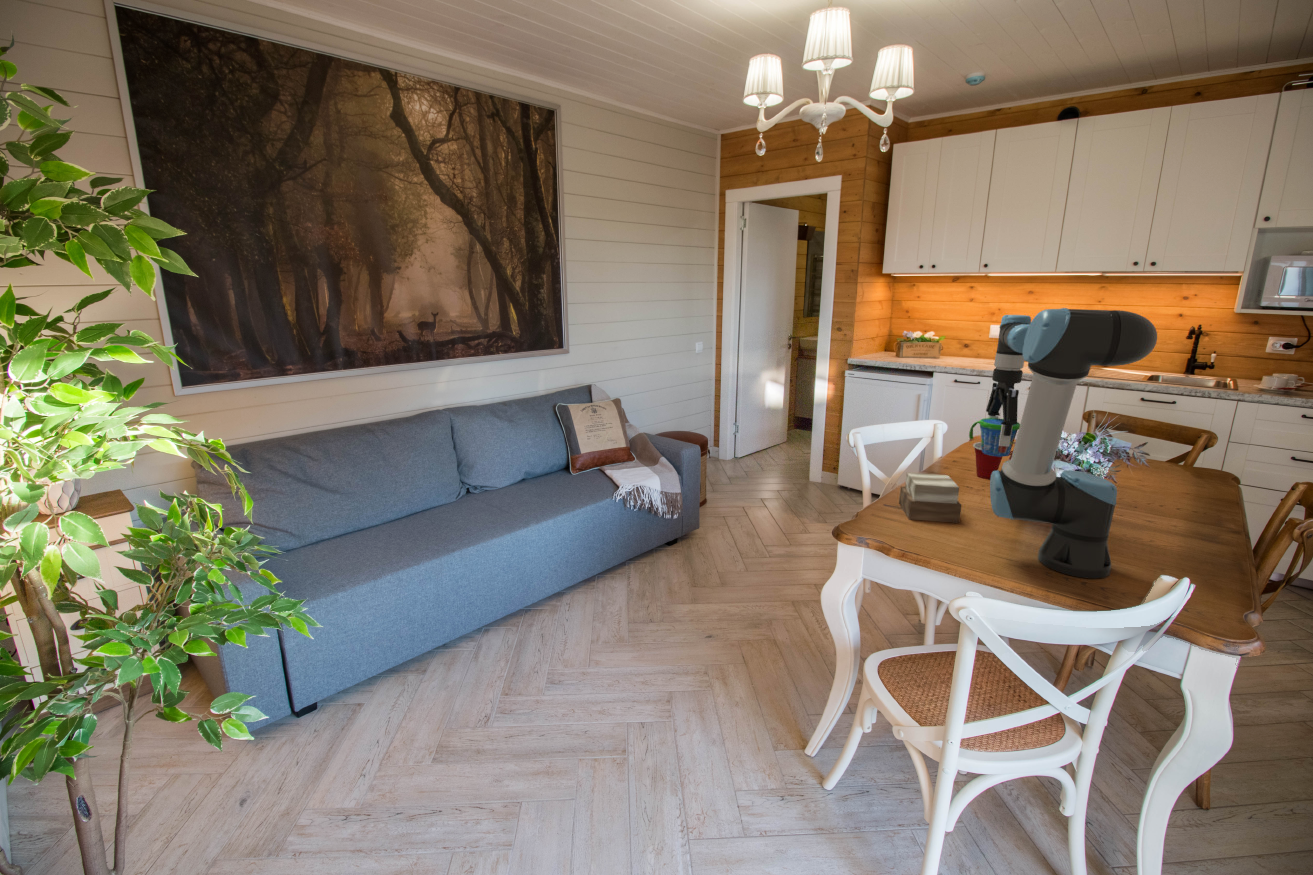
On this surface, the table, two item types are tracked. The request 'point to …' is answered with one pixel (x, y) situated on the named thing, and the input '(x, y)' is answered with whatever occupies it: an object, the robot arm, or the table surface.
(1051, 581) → the table surface
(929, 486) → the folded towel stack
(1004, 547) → the table surface
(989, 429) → the snack cup
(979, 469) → the plastic cup
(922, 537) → the table surface
